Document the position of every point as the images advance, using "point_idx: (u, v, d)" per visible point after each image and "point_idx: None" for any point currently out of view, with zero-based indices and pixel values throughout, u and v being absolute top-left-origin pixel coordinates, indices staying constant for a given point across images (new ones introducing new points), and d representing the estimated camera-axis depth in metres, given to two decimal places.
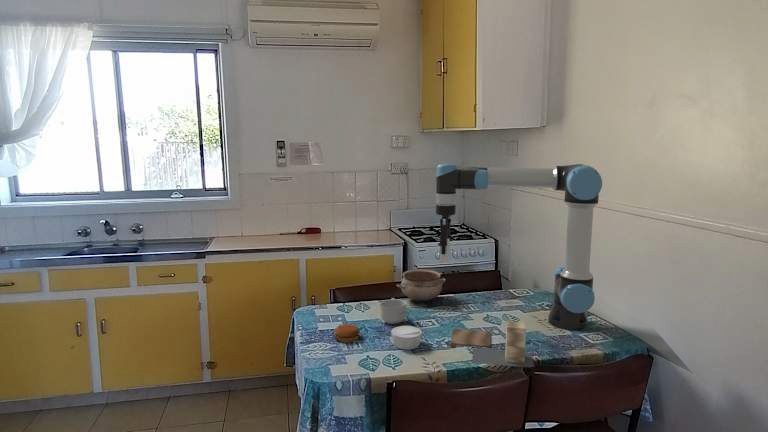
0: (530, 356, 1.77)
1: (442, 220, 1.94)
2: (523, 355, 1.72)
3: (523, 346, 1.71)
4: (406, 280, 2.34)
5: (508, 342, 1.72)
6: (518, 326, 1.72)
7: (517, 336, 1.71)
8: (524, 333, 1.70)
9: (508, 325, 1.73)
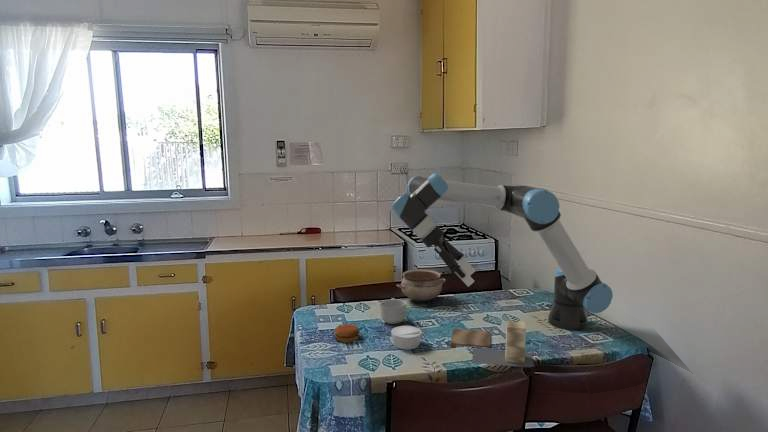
0: (530, 356, 1.77)
1: (436, 249, 1.69)
2: (523, 355, 1.72)
3: (523, 346, 1.71)
4: (406, 280, 2.34)
5: (508, 342, 1.72)
6: (518, 326, 1.72)
7: (517, 336, 1.71)
8: (524, 333, 1.70)
9: (508, 325, 1.73)
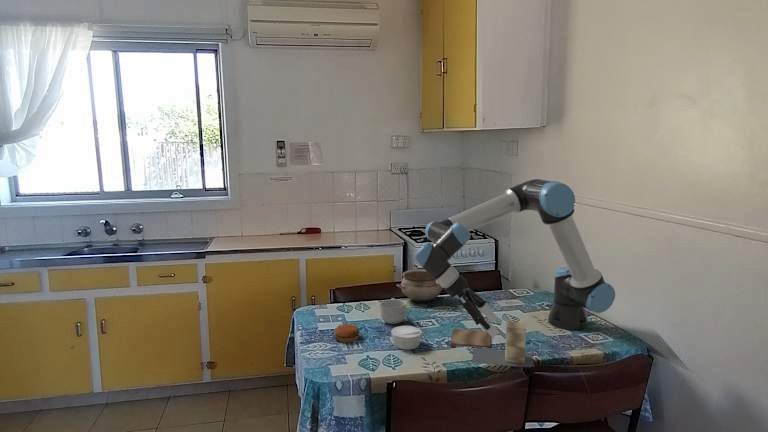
0: (530, 356, 1.77)
1: (460, 300, 1.69)
2: (523, 355, 1.72)
3: (523, 346, 1.71)
4: (406, 280, 2.34)
5: (508, 342, 1.72)
6: (518, 326, 1.72)
7: (517, 336, 1.71)
8: (524, 333, 1.70)
9: (508, 325, 1.73)
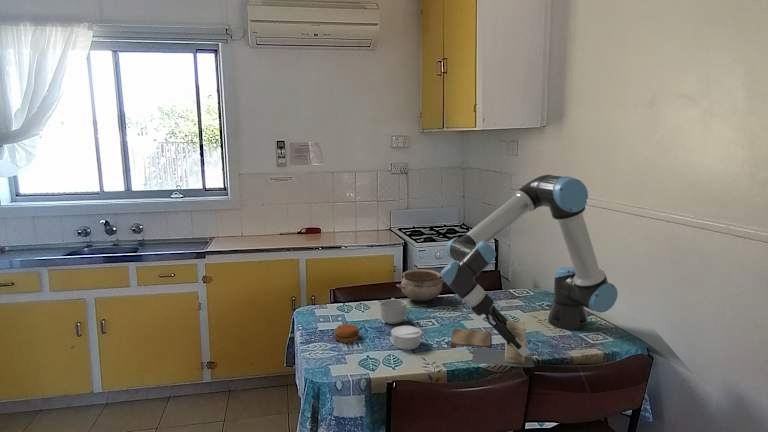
0: (530, 356, 1.77)
1: (490, 322, 1.68)
2: None
3: None
4: (406, 280, 2.34)
5: None
6: (518, 326, 1.72)
7: (517, 336, 1.71)
8: (524, 333, 1.70)
9: (508, 325, 1.73)
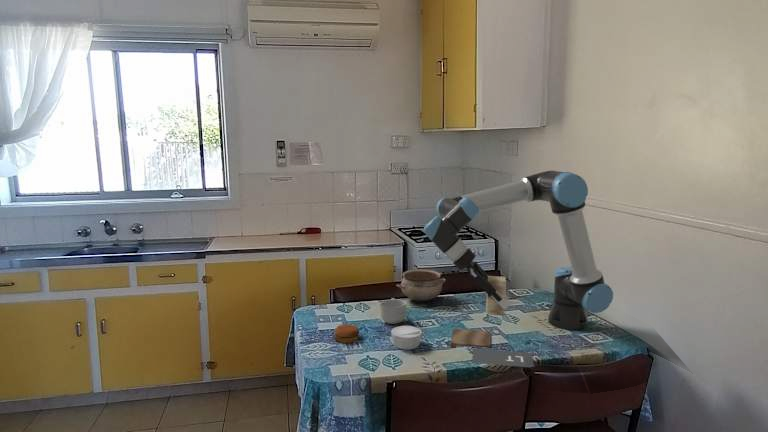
0: (530, 356, 1.77)
1: (471, 275, 1.73)
2: None
3: None
4: (406, 280, 2.34)
5: None
6: (499, 279, 1.76)
7: (498, 289, 1.75)
8: (504, 286, 1.75)
9: (489, 279, 1.77)
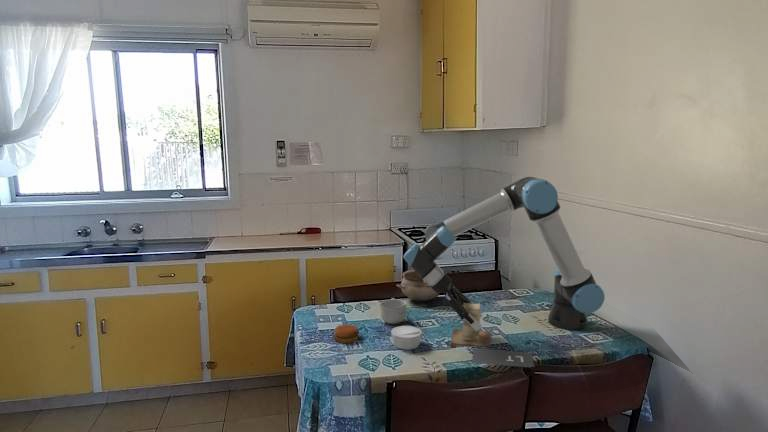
0: (530, 356, 1.77)
1: (445, 297, 1.85)
2: (478, 333, 1.89)
3: None
4: (406, 280, 2.34)
5: (464, 322, 1.89)
6: (473, 307, 1.89)
7: None
8: (478, 313, 1.88)
9: (464, 306, 1.90)
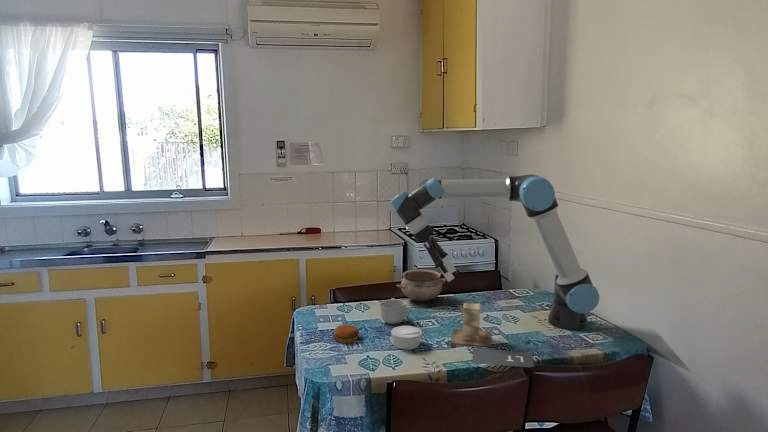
0: (530, 356, 1.77)
1: (425, 244, 1.89)
2: (478, 333, 1.89)
3: (477, 325, 1.89)
4: (406, 280, 2.34)
5: (464, 322, 1.89)
6: (473, 307, 1.89)
7: (472, 316, 1.88)
8: (478, 313, 1.88)
9: (464, 306, 1.90)
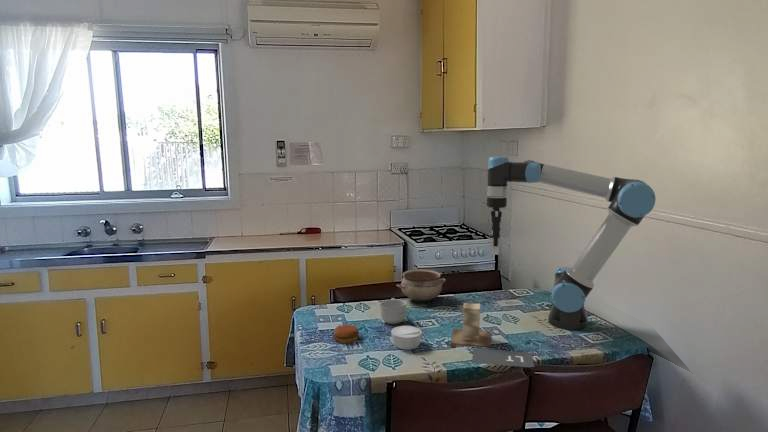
0: (530, 356, 1.77)
1: (494, 212, 1.95)
2: (478, 333, 1.89)
3: (477, 325, 1.89)
4: (406, 280, 2.34)
5: (464, 322, 1.89)
6: (473, 307, 1.89)
7: (472, 316, 1.88)
8: (478, 313, 1.88)
9: (464, 306, 1.90)
